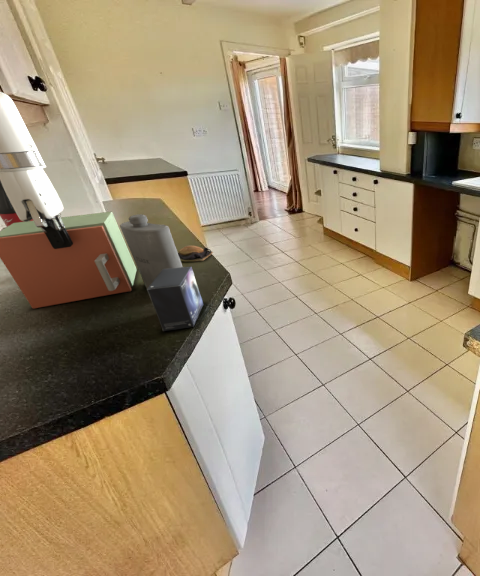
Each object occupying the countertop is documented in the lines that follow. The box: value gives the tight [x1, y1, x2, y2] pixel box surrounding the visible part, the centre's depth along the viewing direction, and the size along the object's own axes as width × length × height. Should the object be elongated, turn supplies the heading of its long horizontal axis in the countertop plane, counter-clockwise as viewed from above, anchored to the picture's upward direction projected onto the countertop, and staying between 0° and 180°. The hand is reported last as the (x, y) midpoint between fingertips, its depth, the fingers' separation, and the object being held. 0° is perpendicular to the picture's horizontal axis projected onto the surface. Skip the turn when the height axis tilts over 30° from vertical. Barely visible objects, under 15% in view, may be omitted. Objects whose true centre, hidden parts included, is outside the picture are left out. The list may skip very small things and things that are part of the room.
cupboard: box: [0, 210, 138, 288], centre depth 83 cm, size 13×20×18 cm, turn 121°
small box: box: [146, 266, 204, 332], centre depth 70 cm, size 11×6×10 cm, turn 17°
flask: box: [119, 213, 184, 289], centre depth 81 cm, size 15×6×20 cm, turn 64°
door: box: [0, 226, 132, 309], centre depth 75 cm, size 6×20×18 cm, turn 115°
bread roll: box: [177, 245, 214, 263], centre depth 104 cm, size 11×8×4 cm
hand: (63, 246), depth 73 cm, fingers closed
